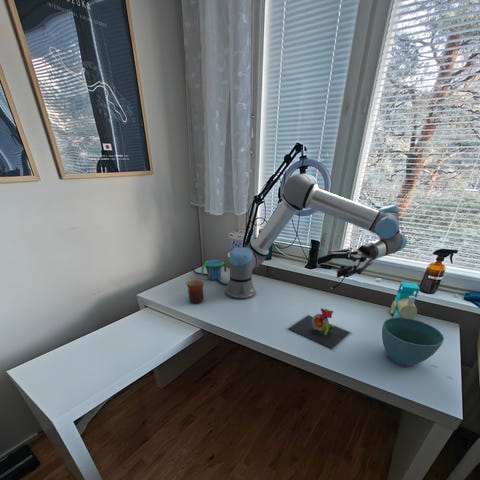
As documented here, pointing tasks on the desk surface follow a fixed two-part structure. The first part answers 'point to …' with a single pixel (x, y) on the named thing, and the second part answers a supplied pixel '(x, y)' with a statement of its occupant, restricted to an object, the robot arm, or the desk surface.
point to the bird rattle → (322, 321)
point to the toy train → (405, 301)
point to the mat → (319, 333)
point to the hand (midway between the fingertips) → (327, 267)
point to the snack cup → (214, 269)
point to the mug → (195, 290)
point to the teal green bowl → (410, 340)
